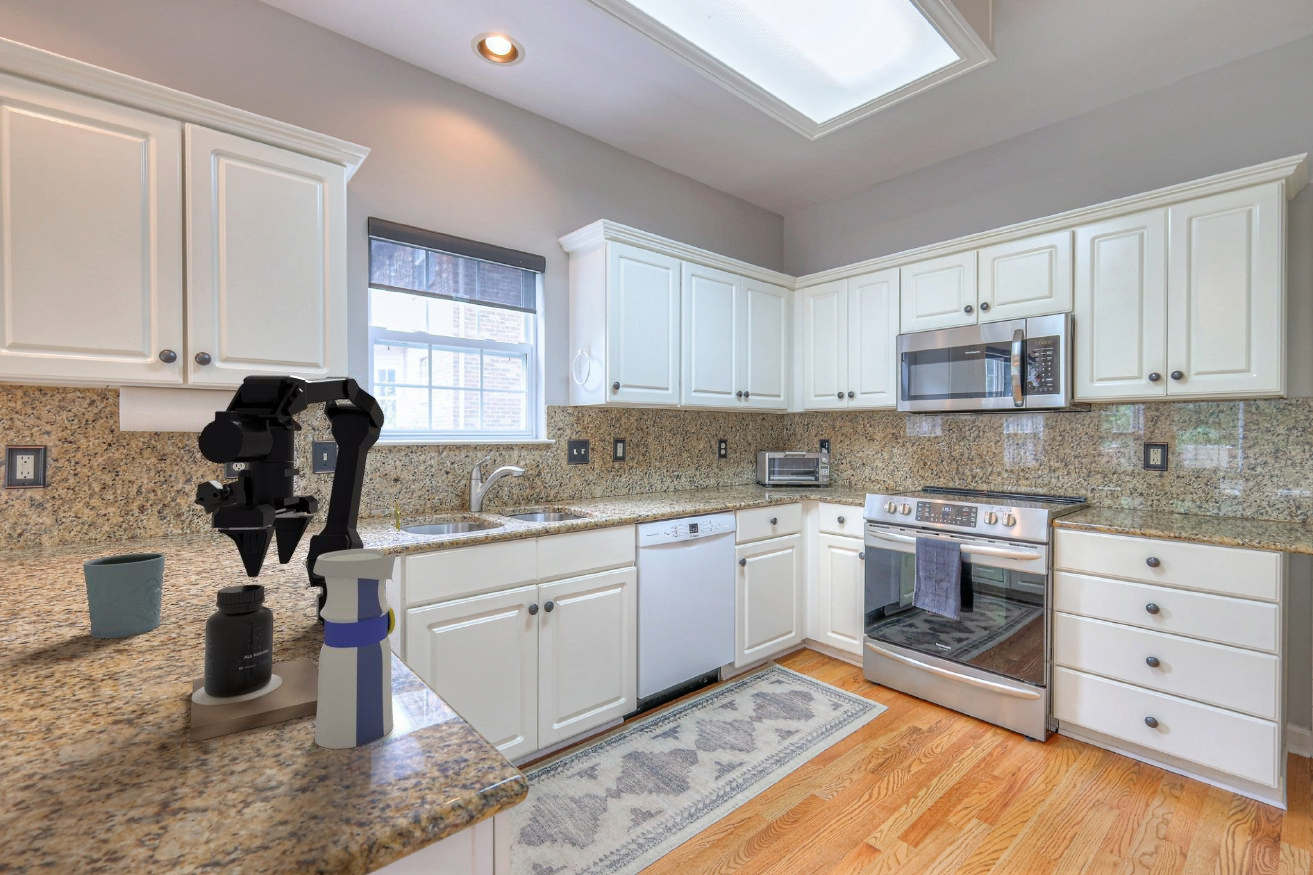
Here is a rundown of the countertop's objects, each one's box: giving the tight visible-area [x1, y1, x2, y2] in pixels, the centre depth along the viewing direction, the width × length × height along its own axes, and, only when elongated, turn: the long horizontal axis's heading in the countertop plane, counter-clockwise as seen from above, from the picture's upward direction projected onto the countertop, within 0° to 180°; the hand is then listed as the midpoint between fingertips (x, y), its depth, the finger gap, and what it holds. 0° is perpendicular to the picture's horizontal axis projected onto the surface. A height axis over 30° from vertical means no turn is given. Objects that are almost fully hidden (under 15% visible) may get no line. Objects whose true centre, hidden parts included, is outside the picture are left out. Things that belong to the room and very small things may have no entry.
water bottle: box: [313, 501, 401, 750], centre depth 66 cm, size 8×9×25 cm
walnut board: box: [189, 657, 318, 744], centre depth 73 cm, size 13×16×2 cm
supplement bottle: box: [203, 584, 274, 697], centre depth 73 cm, size 7×7×12 cm
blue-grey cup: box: [82, 552, 166, 640], centre depth 99 cm, size 10×10×12 cm
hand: (269, 570), depth 86 cm, fingers open, 9 cm apart
